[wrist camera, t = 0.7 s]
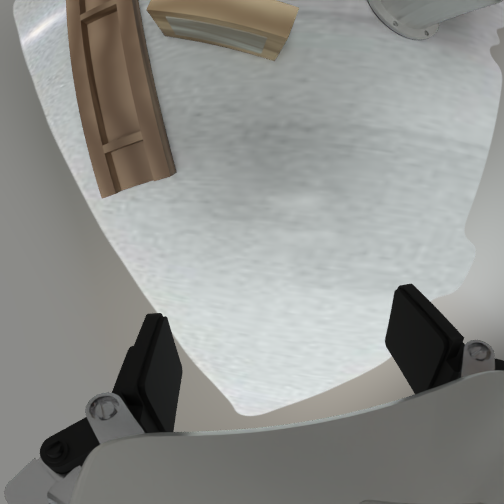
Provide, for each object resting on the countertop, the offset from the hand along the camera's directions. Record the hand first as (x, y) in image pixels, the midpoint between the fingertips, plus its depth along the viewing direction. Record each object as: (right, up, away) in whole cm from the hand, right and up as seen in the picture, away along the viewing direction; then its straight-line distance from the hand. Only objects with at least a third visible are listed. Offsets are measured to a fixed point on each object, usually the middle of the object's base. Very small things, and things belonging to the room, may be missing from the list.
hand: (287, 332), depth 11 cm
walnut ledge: (-18, +25, +17) cm, 36 cm away
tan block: (-5, +30, +17) cm, 34 cm away
